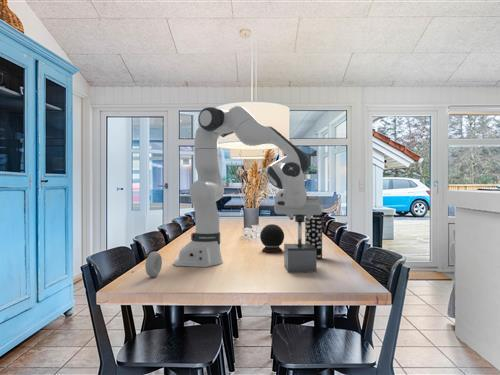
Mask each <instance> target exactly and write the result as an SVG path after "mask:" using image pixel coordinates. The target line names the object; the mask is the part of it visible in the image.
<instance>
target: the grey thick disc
mask: <svg viewBox="0 0 500 375" xmlns="http://www.w3.org/2000/svg"><path fill="white" fill-rule="evenodd" d="M144 266H145V268H144V269H145V272H146V274H147V276H148V277H150V278H156V277H157V276H158V275H159V274H160V272H161V271H162V270H161V269H162V266H163V259H162V256H161V254H160V253H159V252H158V251H151V252H150V253H149V254H148V255H147V258H146V260H145V265H144Z"/></svg>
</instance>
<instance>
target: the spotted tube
mask: <svg viewBox="0 0 500 375" xmlns="http://www.w3.org/2000/svg"><path fill="white" fill-rule="evenodd" d="M304 225H305V227H304V228H305V229H304V231H305V232H304V234H305V235H304V237H305V238H304V239H305V240H304V244H312V245H313V246H314V247H316V248H317V261H318V260H319V261H320V260H322V259H323V218H322V217H317V216H316V217H313V216H311V217H310V220H306V217H305V222H304Z"/></svg>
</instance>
